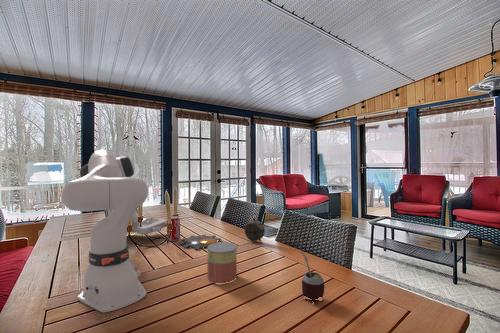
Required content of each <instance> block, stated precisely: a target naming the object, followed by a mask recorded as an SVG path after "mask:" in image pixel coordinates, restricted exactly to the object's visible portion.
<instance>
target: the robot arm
mask: <svg viewBox="0 0 500 333" xmlns="http://www.w3.org/2000/svg"><path fill="white" fill-rule="evenodd" d="M135 169H136V168H135V164H134V162H133V160H132V159H130V157H128V155H127V156H125V155H124V156H123V155H122V156H119V157H116V155H114V153H112V152H111V151H110V150H106V149H100V150H99V149H98V150H96V151H94V152H93V153H92V154H91V155H90V158H89V160H88V163H86V164H85V165H84V166H82V167H81V168H80V170H79V178H77V179H73V180H70V181H69V182H67V184H65V186H64V188H63V190H62V192H61V199H62V200H61V201H62V202H63V204H64V206H65V207H66V209H68V210H69V211H75V212H76V211H77V212H94V211H96V212H97V211H103V212H104V216H105V218H103V219H101V220H99V221H97V222H96V223H95V224H93V226H91V229H90V231H89V240H90V241H89V245H90V246H89V247H90V248H89V251H88V256H87V257H88V263H89V264H88V266H87V268H86V269H85V271H83V272H84V273H83V283H82V292H81V293H80V294H78V295H77V300H78V301H80V302H81V303H83V304H85V305H87V306H89V307H91V308H93V309H94V310H96V311H98V312H100V313H109V312H113V311H117V310H120V309H122V308H125V307H127V306H130V305H132V304H134V303H136V302H138V301H140V300H142V299H143V298H144V297H146V296H147V291H146V289H145V288H144V286H143V285H142V283H141V281H140V280H139V278H140V277H141V270H139V269H138V270H136V269H135V267H136V265H135V264H134V263H132V261H131V259H130V250H129V246H128V245H127V244H128V243H127V241H128V240H127V239H128V237H127V235H128V232H127V227H128V222H129V220H130V218H131V216H132V225H133V229H132V232H131V233H133V234H134V233H137V234H139V235H149V234H152V233H155V232H161V231H162V229H164V228H167V219H166V218H165V219H164V218H157V217H142V218H143V220H142V227H140V225H139V222H138V213H139V209H138V208H139V207H140V206H142V205H143V204H144V203H145V202H146V200H147V198H148V195H149V188H148V185H147V183H146V182H145V180H144V179H142V178H139V177H133V176H134V174H135Z"/></svg>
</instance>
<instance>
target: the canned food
mask: <svg viewBox="0 0 500 333" xmlns="http://www.w3.org/2000/svg"><path fill="white" fill-rule="evenodd" d="M237 249H238V248H237V245H236V244H235V243H233V242H230V241H229V242H227V241H219V242H217V243H213V244H210V245H209V246H208V247H207V248H206V250H207V254H206V255H207V260H206V261H207V268H206V269H207V270H206V271H207V273H206V274H207V276H206V277H207V278H208V280H209V281H210V282H213V283H226V282H230V281H232V280H234V279H235V278H236V276H237V263H238V262H237V260H238V259H237V255H238V254H237ZM207 278H206V279H207ZM236 279H237V278H236ZM208 280H207V281H208ZM209 281H208V282H209ZM210 282H209V283H210Z"/></svg>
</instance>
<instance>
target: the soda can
mask: <svg viewBox="0 0 500 333" xmlns="http://www.w3.org/2000/svg"><path fill="white" fill-rule="evenodd" d="M166 220H167V224H168V218H167V219H166ZM171 221H172V224H173V229H172V231H171V236H170V238H169V241H168V242H171V241H174V242H178V241H179V240H180V239H181V220H180V216H178V215H172V216H171ZM169 235H170V231H169V229H168V226H166V239H167V238H168V237H169ZM177 240H178V241H177Z"/></svg>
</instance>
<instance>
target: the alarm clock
mask: <svg viewBox="0 0 500 333" xmlns="http://www.w3.org/2000/svg"><path fill="white" fill-rule="evenodd" d="M254 214H255V217H253V215H254ZM250 217H251V218H252V220H250V221H248V222H247V223H246V224H245V226H244V234H245V236H246V238H247V240H248V239H249V241H253V242H257V241H259V242H260V241H261V242H262V240H261V239H262V238H264V235H265V230H266V229H265V226H264V225H263V223H262V222H261V221H260V220H257V218H258V214H257V213H255V212H253V213H252V214H251V216H250Z"/></svg>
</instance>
